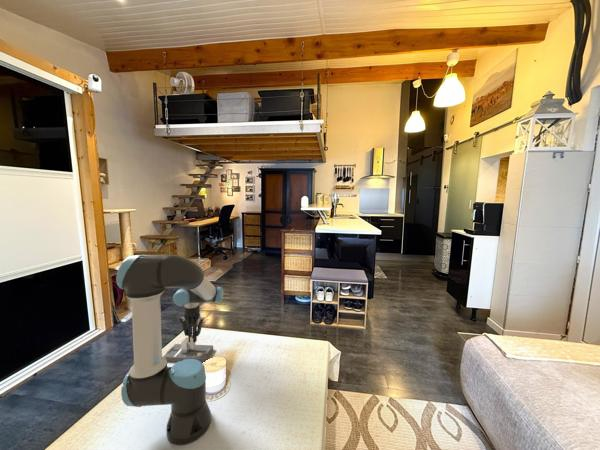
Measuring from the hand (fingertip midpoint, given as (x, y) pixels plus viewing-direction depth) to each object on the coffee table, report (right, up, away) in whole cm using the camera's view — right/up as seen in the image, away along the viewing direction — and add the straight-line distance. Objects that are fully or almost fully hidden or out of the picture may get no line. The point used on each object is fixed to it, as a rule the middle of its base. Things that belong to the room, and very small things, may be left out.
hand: (192, 347), depth 132 cm
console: (-2, -4, 0) cm, 5 cm away
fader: (-4, -2, 0) cm, 4 cm away
